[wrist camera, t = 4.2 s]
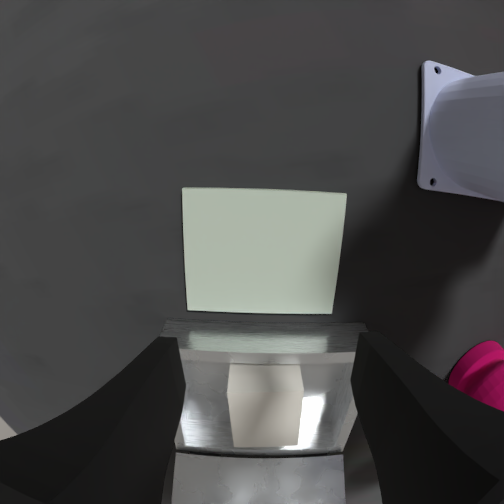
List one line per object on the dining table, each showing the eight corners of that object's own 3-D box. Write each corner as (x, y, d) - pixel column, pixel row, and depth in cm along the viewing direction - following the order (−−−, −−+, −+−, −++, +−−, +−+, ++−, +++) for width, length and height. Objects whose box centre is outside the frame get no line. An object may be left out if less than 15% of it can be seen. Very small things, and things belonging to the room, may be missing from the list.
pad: (344, 193, 17) (346, 194, 17) (330, 310, 20) (331, 313, 20) (183, 187, 17) (182, 188, 17) (188, 306, 20) (187, 310, 20)
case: (363, 322, 20) (387, 369, 16) (328, 444, 25) (336, 487, 20) (167, 318, 20) (146, 366, 16) (187, 442, 25) (179, 486, 20)
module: (296, 343, 20) (304, 390, 16) (292, 399, 22) (298, 445, 18) (231, 345, 21) (226, 392, 16) (236, 401, 22) (233, 447, 18)
